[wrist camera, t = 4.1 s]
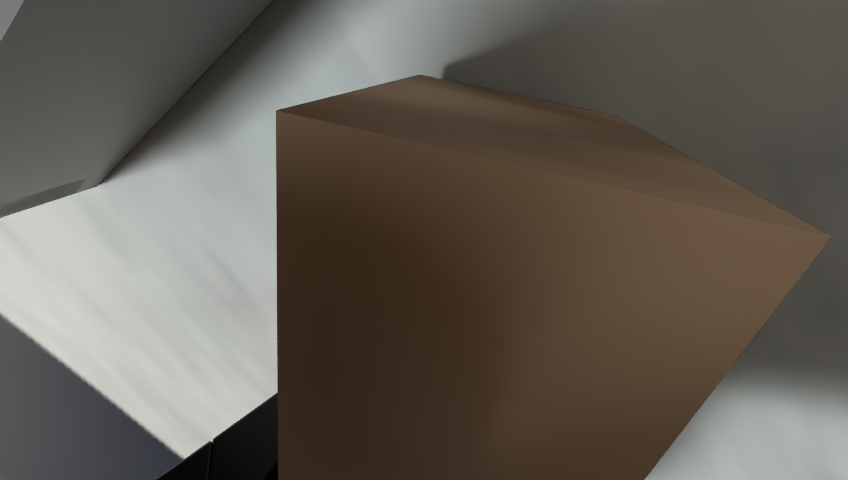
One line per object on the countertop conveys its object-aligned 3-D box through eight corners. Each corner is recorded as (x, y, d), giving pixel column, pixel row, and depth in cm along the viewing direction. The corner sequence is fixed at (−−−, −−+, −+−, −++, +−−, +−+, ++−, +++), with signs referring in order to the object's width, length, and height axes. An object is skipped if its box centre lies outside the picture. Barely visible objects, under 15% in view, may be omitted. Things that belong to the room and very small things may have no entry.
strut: (616, 116, 7) (931, 291, 2) (464, 495, 12) (437, 792, 7) (419, 74, 7) (217, 124, 2) (358, 462, 13) (263, 727, 8)
